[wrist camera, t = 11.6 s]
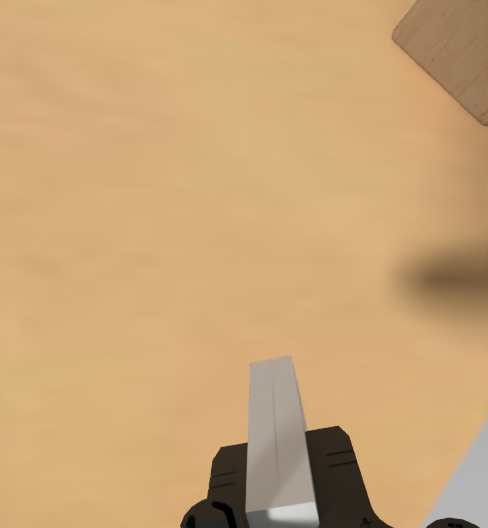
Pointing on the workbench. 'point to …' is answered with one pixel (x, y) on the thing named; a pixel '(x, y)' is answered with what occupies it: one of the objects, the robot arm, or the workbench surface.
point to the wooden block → (451, 48)
